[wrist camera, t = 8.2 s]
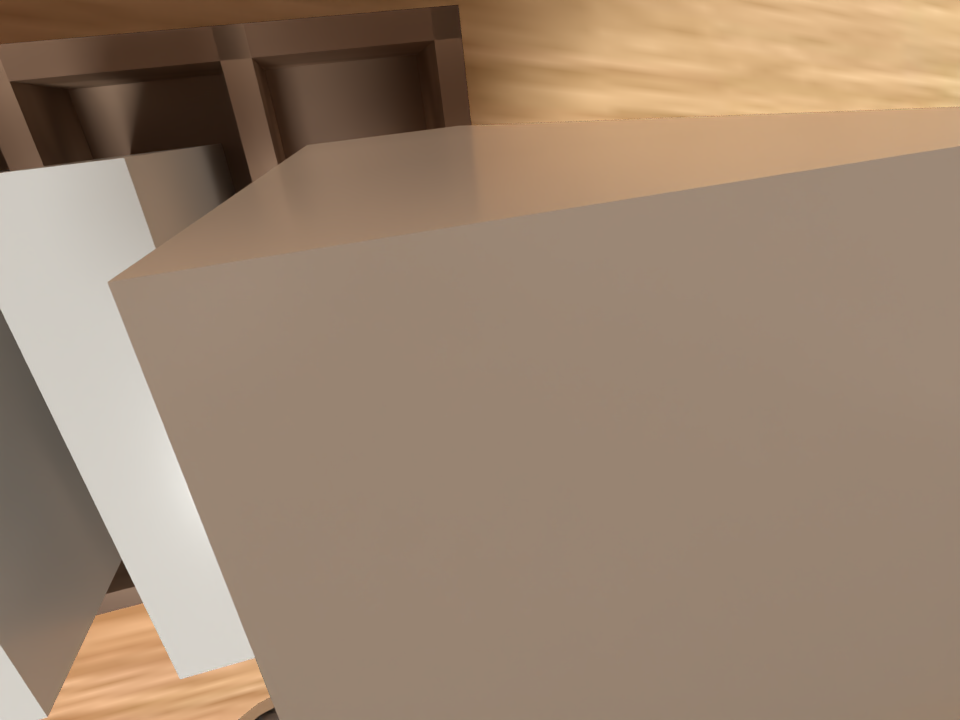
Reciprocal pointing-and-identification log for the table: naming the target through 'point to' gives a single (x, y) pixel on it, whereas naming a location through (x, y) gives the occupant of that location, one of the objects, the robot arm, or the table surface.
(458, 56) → the rack
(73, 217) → the racked plate mid
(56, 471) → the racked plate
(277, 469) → the plate
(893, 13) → the table surface
